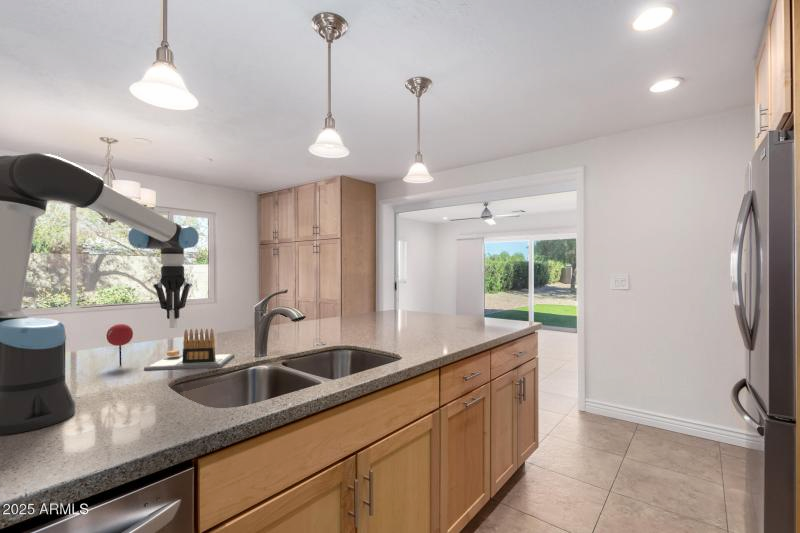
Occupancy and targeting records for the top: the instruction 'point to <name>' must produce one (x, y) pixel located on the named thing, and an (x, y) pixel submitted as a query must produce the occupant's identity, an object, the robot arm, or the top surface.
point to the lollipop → (119, 336)
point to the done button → (173, 353)
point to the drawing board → (176, 363)
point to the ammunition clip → (198, 347)
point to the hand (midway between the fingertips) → (173, 327)
